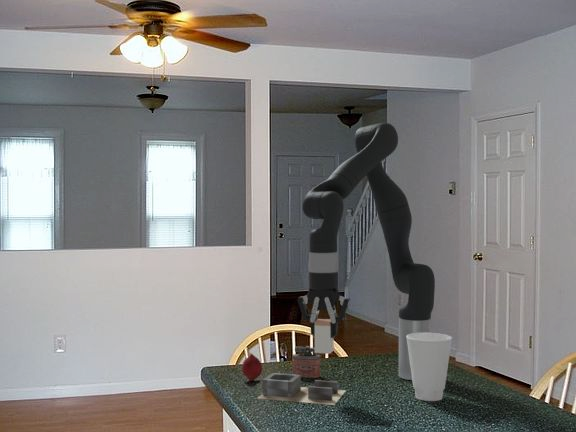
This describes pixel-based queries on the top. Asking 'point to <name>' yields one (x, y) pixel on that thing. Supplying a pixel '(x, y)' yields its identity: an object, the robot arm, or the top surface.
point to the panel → (299, 390)
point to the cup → (429, 363)
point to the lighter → (306, 362)
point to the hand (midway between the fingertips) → (324, 336)
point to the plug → (323, 336)
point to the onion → (252, 367)
